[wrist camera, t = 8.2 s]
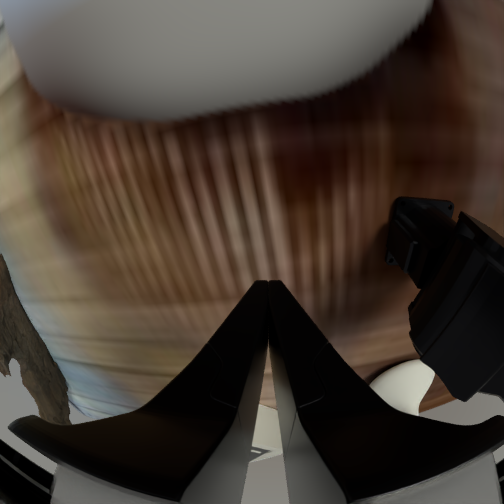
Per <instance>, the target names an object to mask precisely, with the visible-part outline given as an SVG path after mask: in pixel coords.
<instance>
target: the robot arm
mask: <svg viewBox="0 0 504 504" xmlns="http://www.w3.org/2000/svg"><path fill="white" fill-rule="evenodd" d="M402 201H403V204H402V205H400V203H401V202H402ZM449 205H450V207H449ZM448 207H449V208H448ZM453 210H454V204H453V203H452V202H451V201H447V200H437V199H427V198H415V197H402V196H401V197H399V198H397V200H396V204H395V210H394V216H393V220H392V221H391V225H390V230H389V235H388V240H387V245H386V247H387V252H386V256H385V261H386V263H387V264H388V265H399V266H400V267H401V269H402V270H403V272H404V273H408V274H409V276H410V277H411V279H412V280H413V282H414V283H415V285H416V286H417V288H418V289H421V290H420V292H419V293H418V295H417V296H416V298H415V299H414V301H413V302H411V303H410V305H409V306H408V311H409V322H410V327H411V330H410V332H409V335H410V338H411V340H412V342H413V345H414V347H415V350H416V351H417V353H418V354H419V355H420V356H421V357H420V361H421V362H422V363H424V364H425V365H427V366H428V367H429V368H431V369H432V370H433V371H434V372H435V373H436V374H437V375H438V376H439V377H440V379H441V380H442V381H443V383H444V384H445V386H446V387H447V389H448V390H449V392H450V393H451V395H452V396H453V397H455V398H457V399H459V400H461V401H463V402H466V401H468V400H469V399H470V398H471V397H472V396H473V395H474V394H475V393H477V392H479V393H484V394H489V395H494V396H498V397H499V398H500V399H502V401H503V402H504V238H503V237H502V236H500V235H499V234H498V233H497V232H495V231H494V230H493V229H491V228H490V227H488V226H487V225H485V224H483V223H482V222H480V221H478V220H477V219H475V218H473V217H471V216H470V215H468V214H466V213H464V212H463V211H461V212H460V214H459V216H458V218H459V219H458V222H457V223H456V222H455V221H453V220H452V214H453ZM390 258H392V259H391V260H390V261H389V259H390ZM268 339H269V352H270V360H271V367H272V374H273V382H274V389H275V396H276V404H277V411H278V419H279V426H280V434H281V441H282V449H283V457H284V461H285V462H284V464H285V472H286V480H287V487H288V495H289V503H290V504H504V459H503V460H501V461H500V462H498V463H497V464H495V460H494V456H493V452H494V451H495V450H497V449H498V448H499V447H501V446H502V445H504V416H501V415H496V416H494V417H492V418H490V419H488V420H486V421H484V422H482V423H480V424H476V425H466V426H465V425H456V424H451V423H446V422H441V421H437V420H432V419H428V418H424V417H420V416H416V415H412V414H409V413H405V412H402V411H399V410H397V409H395V408H394V407H392V406H391V405H389V404H388V403H387V402H385V401H384V400H383V399H382V398H381V397H380V396H379V395H378V394H377V393H376V392H375V391H374V390H373V389H372V388H371V387H370V386H369V385H368V384H367V383H366V382H365V381H364V380H363V379H362V378H361V377H360V376H358V375H357V374H356V373H355V371H354V370H353V369H352V368H351V367H350V366H349V365H348V364H347V363H346V362H345V361H344V360H343V359H342V357H341V356H340V355H339V354H338V353H337V351H336V350H335V349H334V348H333V346H332V345H331V344H330V343H328V342H329V341H328V340H327V339H326V337H325V336H324V335H323V333H322V332H321V331H320V330H319V328H318V327H317V326H316V324H315V323H314V322H313V321H312V319H311V318H310V317H309V315H308V314H307V313H306V312H305V310H304V309H303V308H302V307H301V305H300V304H299V303H298V301H297V300H296V299H295V298H294V296H293V295H292V294H291V292H290V291H289V290H288V289H287V287H286V286H285V285H284V283H283V282H282V281H281V280H270V281H269V282H268V281H267V280H256V281H255V282H254V283H253V284H252V286H251V287H250V288H249V290H248V291H247V292H246V294H245V295H244V296H243V297H242V299H241V300H240V301H239V303H238V304H237V305H236V306H235V308H234V309H233V310H232V312H231V313H230V314H229V315H228V317H227V318H226V319H225V320H224V322H223V323H222V324H221V326H220V327H219V328H218V329H217V331H216V332H215V333H214V334H213V336H212V337H211V338H210V340H209V341H208V342H207V343H206V344H205V346H204V347H203V348H202V349H201V351H200V352H199V353H198V354H197V355H196V357H195V358H194V359H193V360H192V361H191V362H190V363H189V364H188V365H187V366H186V367H185V368H184V369H183V370H182V371H181V372H180V373H179V374H178V375H177V376H176V377H175V378H174V379H173V380H172V381H171V382H170V383H169V384H168V385H167V386H166V387H165V388H163V389H162V390H161V391H160V392H159V393H158V394H157V395H156V396H155V397H154V398H153V399H151V400H150V401H149V402H148V403H147V404H145V405H144V406H142V407H141V408H139V409H137V410H135V411H132V412H129V413H125V414H121V415H117V416H113V417H109V418H104V419H100V420H95V421H90V422H85V423H80V424H73V425H59V424H53V423H50V422H48V421H46V420H44V419H42V418H40V417H38V416H35V415H30V416H26V417H22V418H19V419H16V420H15V421H13V422H12V423H11V424H10V425H9V426H8V429H9V430H10V431H11V432H13V433H14V434H15V435H16V436H17V437H19V438H20V439H21V440H23V441H24V442H25V443H27V444H28V445H30V446H31V447H32V448H34V449H35V450H37V451H38V452H40V453H41V454H43V455H44V456H46V457H47V458H49V459H51V460H52V461H54V462H56V463H57V467H56V470H55V474H54V475H53V474H51V473H49V472H48V471H46V470H45V469H43V468H42V467H40V466H38V465H37V464H35V463H34V462H32V461H30V460H29V459H28V458H26V457H25V456H23V455H22V454H20V453H19V452H18V451H16V450H15V449H13V448H12V447H10V446H9V445H8V444H7V443H5V442H4V441H2V440H1V439H0V504H240V503H241V498H242V494H243V489H244V484H245V479H246V473H247V468H248V463H249V462H248V461H249V458H250V452H251V447H252V441H253V436H254V430H255V425H256V419H257V413H258V407H259V401H260V395H261V389H262V382H263V376H264V370H265V363H266V356H267V349H268Z"/></svg>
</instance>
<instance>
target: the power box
mask: <svg viewBox="0 0 504 504" xmlns="http://www.w3.org/2000/svg"><path fill="white" fill-rule="evenodd" d="M252 446H253V447H257V448H261V449H266V450H270V451H268V452H266V453H265V454H263V455H261V456H259V457H257V458H256V459H254V460H252V461H250V462H255V461H259V460H263V459H266V458H270V457H274V456H277V455H281V454H283V449H282V441H281V434H280V426H279V419H278V411H277V410H275V409H272V408H269V407H266V406H264V405H261V404H259V407H258V413H257V419H256V425H255V430H254V436H253V441H252Z"/></svg>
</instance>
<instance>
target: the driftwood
mask: <svg viewBox="0 0 504 504" xmlns="http://www.w3.org/2000/svg"><path fill="white" fill-rule="evenodd" d="M11 358H14V359H16V360H17V361H18V363H19V364H20V369H21V371H20V372H21V377H22V382H23V385H24V386H25V387H26V388H27V390H28V391H29V393H30V394H31V395H32V397H33V398H34V399H35V402H36V404H37V406H38V409H39V415H40V417H41V418H42V419H44V420H46V421H48V422H50V423H53V424H59V425H72V424H71V422H70V420H69V414H70V408H69V405H68V395H67V393H66V392H67V391H68V387H67V385H66V383H65V379H64V377H63V375H62V373H61V372H60V370H59V369H58V366H57V364H56V363H55V362H53V359H52V357H51V356H50V354H49V351H48V349H47V347H46V345H45V343H44V342H43V340H42V339H41V338H40V336H39V334H38V332H37V331H36V330H35V329H34V327H33V325H32V323H31V321H30V320H29V318H28V317H27V315H26V313H25V311H24V309H23V308H22V306H21V304H20V302H19V300H18V297H17V295H16V293H15V291H14V289H13V284H12V282H11V279H10V274H9V271H8V268H7V265H6V262H5V261H4V260H3V256H2V254H0V372H1V373H2V374H3V375H4V376H5V375H10V371H9V365H8V364H9V362H10V360H11ZM10 376H11V375H10Z"/></svg>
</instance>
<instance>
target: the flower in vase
mask: <svg viewBox="0 0 504 504" xmlns="http://www.w3.org/2000/svg"><path fill="white" fill-rule="evenodd" d="M434 375H435V372H434V371H433V370H432V369H431V368H429V367H428V366H427V365H425V364H424V363H422V362H421V361H420V359H417V360H411V361H407V362H404V363H401V364H399V365H397V366H394V367H392V368H390V369H388V370H387V371H385V372H384V373H382V374H381V375H379V376H378V377H377V378H376V379H374V380H373V381H372V382H371V384H370V385H369V386H370V387H371V388H372V389H373V390H374V391H375V392H376V393H377V394H378V395H379V396H380V397H381V398H382V399H383V400H384V401H385V402H387V403H388V404H389V405H391V406H392V407H394V408H395V409H397V410H399V411H402V412H405V413H409V414H412V415H416V416H419V413H418V407H419V404H420V401H421V400H422V398H423V396H424V395H425V393H426V392H427V390H428V388H429V387H430V385H431V383H432V381H433V378H434Z"/></svg>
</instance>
